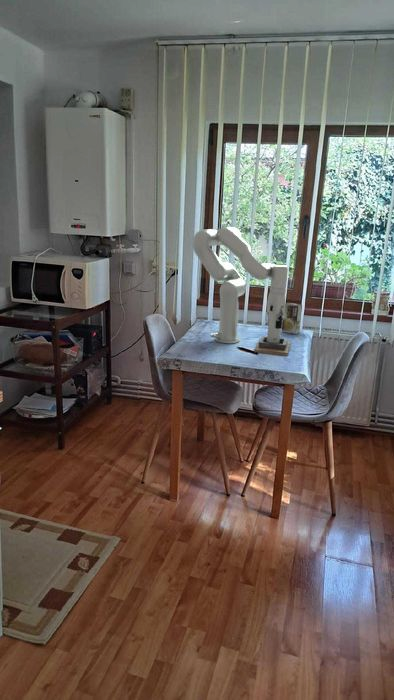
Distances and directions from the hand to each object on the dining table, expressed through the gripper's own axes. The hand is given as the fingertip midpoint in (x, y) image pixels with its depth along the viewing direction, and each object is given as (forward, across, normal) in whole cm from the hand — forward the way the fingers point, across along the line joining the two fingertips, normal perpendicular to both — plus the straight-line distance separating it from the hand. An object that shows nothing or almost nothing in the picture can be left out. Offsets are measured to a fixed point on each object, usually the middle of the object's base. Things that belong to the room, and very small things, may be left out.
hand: (274, 326), depth 242 cm
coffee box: (+11, -27, +29) cm, 41 cm away
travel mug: (+9, 0, 0) cm, 9 cm away
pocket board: (+11, 0, 0) cm, 11 cm away
